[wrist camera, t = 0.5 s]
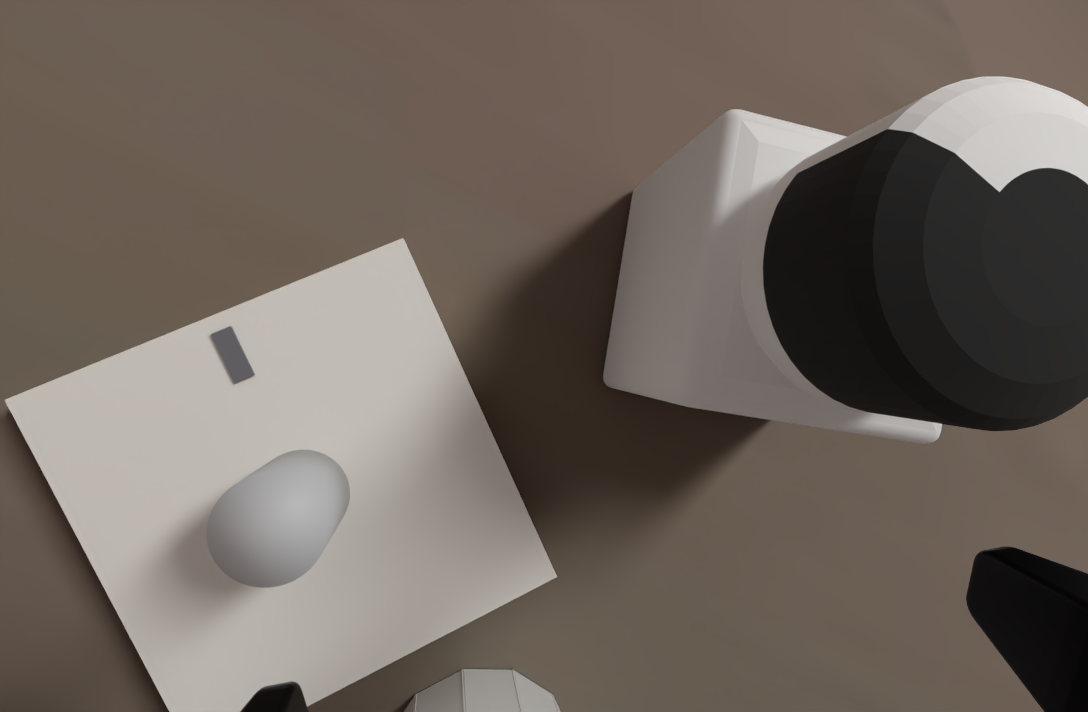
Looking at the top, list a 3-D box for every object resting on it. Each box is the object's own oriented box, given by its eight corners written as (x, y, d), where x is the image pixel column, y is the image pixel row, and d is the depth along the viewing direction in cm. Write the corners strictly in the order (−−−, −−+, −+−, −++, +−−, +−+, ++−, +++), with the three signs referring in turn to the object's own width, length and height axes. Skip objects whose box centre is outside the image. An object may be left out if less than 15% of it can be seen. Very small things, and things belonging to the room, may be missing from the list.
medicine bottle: (782, 414, 22) (1192, 498, 10) (598, 385, 20) (811, 439, 9) (812, 225, 22) (1256, 79, 10) (631, 184, 20) (886, -37, 9)
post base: (551, 565, 20) (581, 627, 16) (210, 741, 18) (135, 866, 14) (405, 243, 19) (393, 212, 15) (29, 396, 17) (-113, 414, 13)
